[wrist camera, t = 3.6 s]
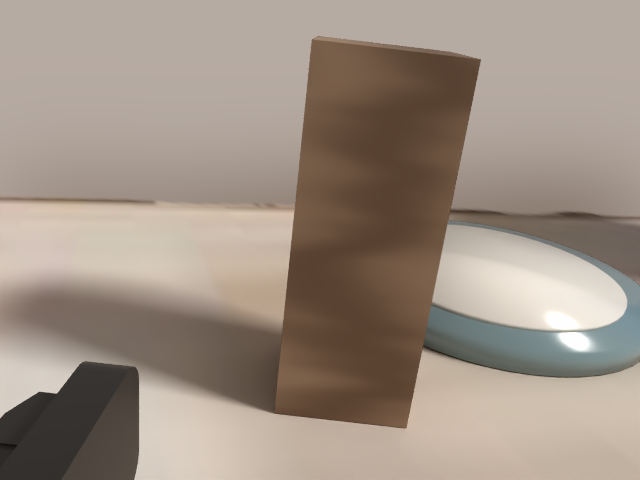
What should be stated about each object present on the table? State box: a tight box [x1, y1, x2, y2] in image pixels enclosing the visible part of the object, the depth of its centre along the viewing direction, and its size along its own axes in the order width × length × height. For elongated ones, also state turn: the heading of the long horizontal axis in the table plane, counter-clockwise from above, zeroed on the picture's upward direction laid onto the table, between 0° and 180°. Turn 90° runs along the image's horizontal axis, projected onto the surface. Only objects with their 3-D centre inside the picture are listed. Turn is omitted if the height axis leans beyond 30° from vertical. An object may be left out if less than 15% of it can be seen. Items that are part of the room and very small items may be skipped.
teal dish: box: [423, 220, 640, 377], centre depth 31 cm, size 16×16×1 cm
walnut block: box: [274, 36, 481, 428], centre depth 19 cm, size 4×4×12 cm
